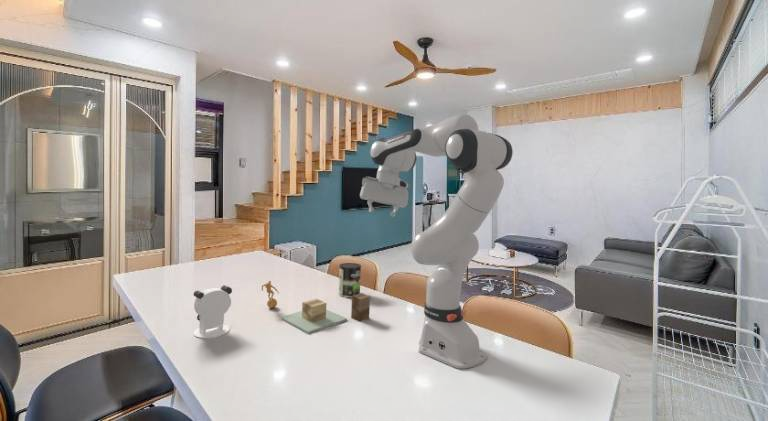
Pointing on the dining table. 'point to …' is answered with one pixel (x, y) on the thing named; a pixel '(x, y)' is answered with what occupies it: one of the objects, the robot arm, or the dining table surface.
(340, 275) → the coffee can
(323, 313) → the base brick
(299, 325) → the plate
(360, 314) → the walnut brick
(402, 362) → the dining table surface
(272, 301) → the figurine
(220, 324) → the panda figurine
